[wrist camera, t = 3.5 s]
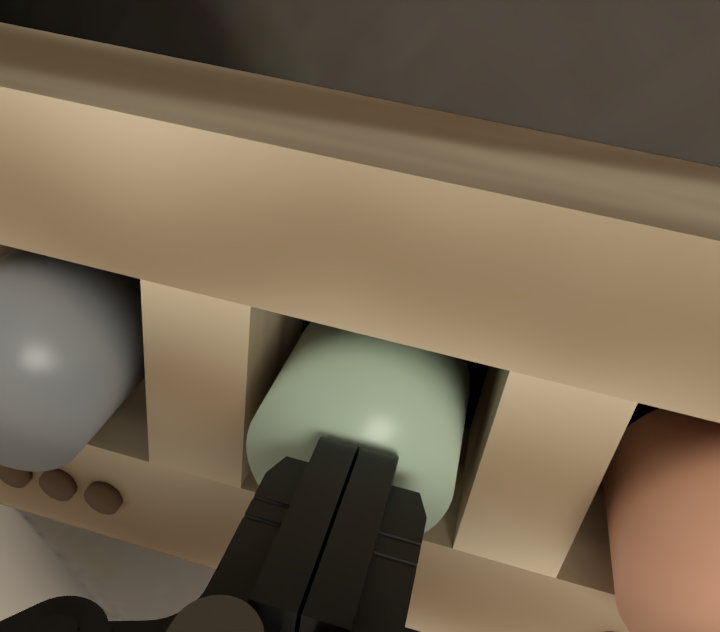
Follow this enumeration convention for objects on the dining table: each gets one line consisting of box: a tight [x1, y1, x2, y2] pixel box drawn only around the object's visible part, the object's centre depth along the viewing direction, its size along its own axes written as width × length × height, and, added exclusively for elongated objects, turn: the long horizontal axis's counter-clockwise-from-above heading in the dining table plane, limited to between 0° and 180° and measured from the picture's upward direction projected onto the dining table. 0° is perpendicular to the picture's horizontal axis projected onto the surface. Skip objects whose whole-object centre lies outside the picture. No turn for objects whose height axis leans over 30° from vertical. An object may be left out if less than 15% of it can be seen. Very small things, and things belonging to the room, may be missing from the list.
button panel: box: [0, 22, 720, 632], centre depth 15 cm, size 11×22×4 cm, turn 82°
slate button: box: [0, 248, 145, 472], centre depth 14 cm, size 4×4×3 cm
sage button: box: [246, 322, 470, 533], centre depth 14 cm, size 4×4×3 cm
